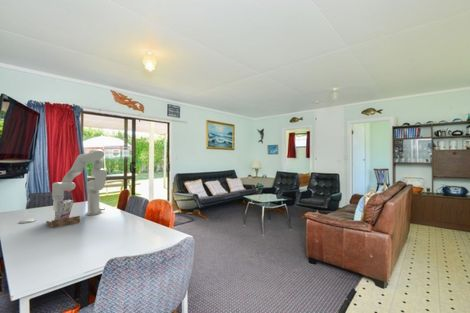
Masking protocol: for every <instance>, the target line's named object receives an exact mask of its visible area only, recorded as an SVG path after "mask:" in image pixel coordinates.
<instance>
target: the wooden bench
mask: <svg viewBox="0 0 470 313" xmlns="http://www.w3.org/2000/svg"><path fill="white" fill-rule="evenodd" d="M80 222H81V216H80V215H77V216H76V215H75V216H69V218H64V219H58V220H51V221H49V220H46V226H48V227H49V228H57V227H61V226H67V225H71V224H78V223H80Z"/></svg>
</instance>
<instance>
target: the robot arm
mask: <svg viewBox="0 0 470 313" xmlns="http://www.w3.org/2000/svg"><path fill="white" fill-rule="evenodd" d="M104 156H105V152H104V151H103V150H102V149H91V150H89V152H88V153H81V154H79V155H77V157H76V159H75V161H74V162H73V164H72V166H71V168H70V170H68V171H67V173H65V175H64V176H63V178H62V180H61V182H59V181H58V182H53V183H52V184H51V185H52V186H51V188H52V191H51V192H52V193H51V194H52V195H51V196H52V201H53V202H52V203H53V204H52V210H53V211H54V214H55V215H54V217H55V216H56V212H57V209H58V205H59V202H61V201H64V198H65V197H64V193H65V192H64V191H73V190H74V189H75V188H76V183H75V182H73V181H74V179H75V178H76V177H77V176H79V175H81V174H82V173H83V170H84V169H85V167H86V166H87V164H90V163H92V167H91V171H90V177H91V178H93V179H90V180H89V181H87V182H86V191H87V192H86V194H87V212H85V215H86V216H96V215H99V214H101V213H102V211H105V210H106V208H105V207H100V191H102V190H103V189H104V188H105V185H106V180H107V176H108V175H107V170H106V169H104V159H103V158H104Z"/></svg>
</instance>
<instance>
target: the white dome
mask: <svg viewBox="0 0 470 313" xmlns="http://www.w3.org/2000/svg"><path fill="white" fill-rule="evenodd" d="M36 221H37V220H36V218H25V219H21V220H19V223H18V224H29V223H34V222H36Z"/></svg>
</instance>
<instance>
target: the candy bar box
mask: <svg viewBox="0 0 470 313" xmlns="http://www.w3.org/2000/svg"><path fill="white" fill-rule="evenodd" d="M73 205H74V200H71V199H66V200H63V201H61V202H59V205H58V209H57V212H56V216H55V215H54V218H53V219H54V220H58V219H64V218H70V217H71V216H70V215H71V212H72V208H73Z"/></svg>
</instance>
